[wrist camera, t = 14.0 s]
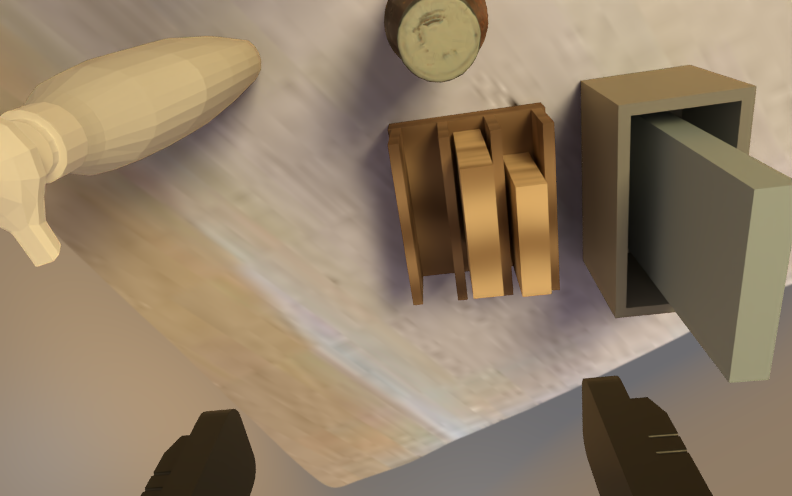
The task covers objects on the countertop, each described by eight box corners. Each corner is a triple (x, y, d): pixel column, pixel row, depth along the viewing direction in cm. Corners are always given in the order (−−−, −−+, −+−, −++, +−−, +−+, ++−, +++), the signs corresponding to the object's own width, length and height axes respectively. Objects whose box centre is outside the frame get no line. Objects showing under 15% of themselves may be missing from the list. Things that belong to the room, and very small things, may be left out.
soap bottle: (152, 155, 51) (-100, 318, 26) (104, 66, 47) (-234, 158, 23) (300, 102, 48) (171, 229, 24) (259, 4, 45) (62, 34, 20)
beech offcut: (501, 155, 47) (515, 187, 40) (528, 152, 47) (547, 183, 40) (508, 251, 51) (522, 296, 44) (533, 249, 51) (551, 293, 43)
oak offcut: (453, 132, 46) (459, 169, 37) (479, 128, 46) (493, 165, 37) (465, 241, 51) (473, 298, 42) (489, 238, 50) (503, 295, 41)
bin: (580, 80, 46) (618, 105, 37) (690, 64, 45) (756, 86, 36) (583, 260, 53) (615, 318, 44) (678, 249, 52) (731, 306, 43)
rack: (389, 123, 48) (383, 145, 42) (540, 102, 47) (558, 121, 41) (411, 267, 54) (409, 305, 48) (546, 252, 53) (563, 289, 47)
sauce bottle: (402, -46, 43) (386, -65, 25) (483, -30, 43) (524, -35, 25) (387, 43, 46) (362, 85, 28) (462, 59, 46) (486, 110, 28)
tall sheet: (625, 106, 46) (754, 189, 28) (652, 103, 46) (801, 184, 28) (621, 239, 51) (729, 382, 33) (646, 237, 51) (768, 379, 33)
